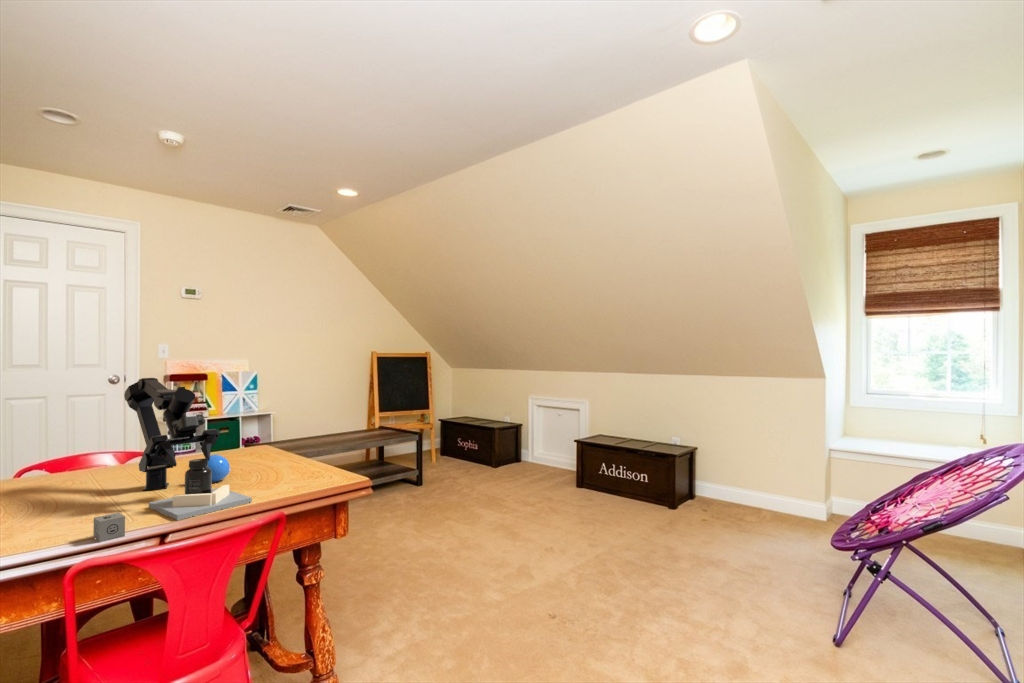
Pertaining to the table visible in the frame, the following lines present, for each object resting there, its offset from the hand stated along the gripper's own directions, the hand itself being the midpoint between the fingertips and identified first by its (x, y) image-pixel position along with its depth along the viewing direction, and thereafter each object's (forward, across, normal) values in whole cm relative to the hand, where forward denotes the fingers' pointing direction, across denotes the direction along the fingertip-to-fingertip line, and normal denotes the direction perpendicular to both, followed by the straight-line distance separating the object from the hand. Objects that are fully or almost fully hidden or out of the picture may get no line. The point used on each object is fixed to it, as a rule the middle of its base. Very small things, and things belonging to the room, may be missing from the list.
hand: (192, 462), depth 154 cm
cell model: (-6, +16, +23) cm, 29 cm away
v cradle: (+13, 0, +4) cm, 13 cm away
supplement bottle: (+12, -1, +3) cm, 12 cm away
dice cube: (+20, -25, -3) cm, 32 cm away
